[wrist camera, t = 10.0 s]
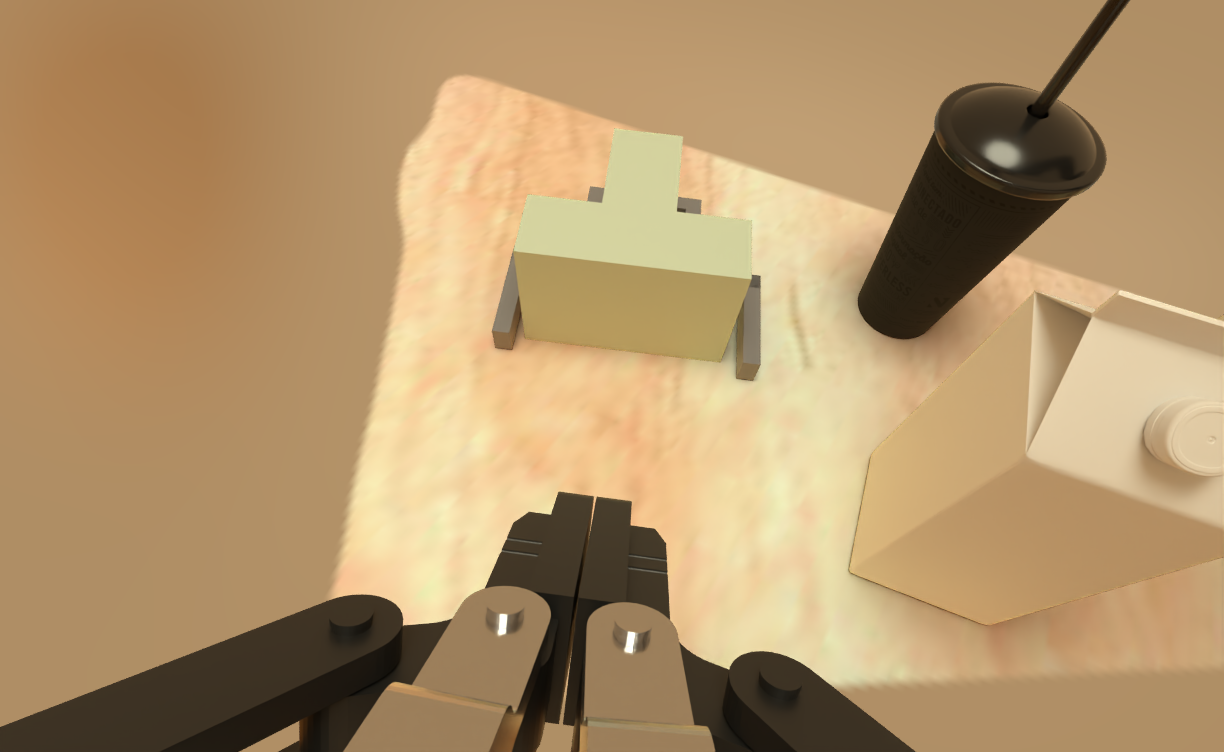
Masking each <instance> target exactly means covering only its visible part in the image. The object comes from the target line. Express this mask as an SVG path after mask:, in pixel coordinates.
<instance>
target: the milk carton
mask: <svg viewBox="0 0 1224 752" xmlns="http://www.w3.org/2000/svg"><path fill="white" fill-rule="evenodd" d="M1222 557H1224V321H1221V320H1218V319H1214V318H1211V317H1208V316H1204V315H1201V314H1198V313H1195V312H1191V311H1188V310H1185V309H1182V308H1178V307H1174V306H1172V305H1168V304H1165V303H1162V302H1158V301H1155V300H1152V299H1148V298H1145V297H1142V296H1139V295H1135V294H1132V293H1129V292H1125V291H1122V290H1120V291H1118V292H1117V293H1115V294H1114V295H1113V296H1112V297H1111V298H1109V299H1108V300H1107V301H1106V302H1105V303H1104V304H1102V305H1101V306H1100V307H1099V308H1098V309H1094V308H1091V307H1088V306H1084V305H1081V304H1078V303H1075V302H1071V301H1068V300H1065V299H1062V298H1058V297H1055V296H1052V295H1049V294H1045V293H1042V292H1039V291H1034V293H1033V294H1032V295H1031V296H1030V297H1029V298H1028V299H1027V300H1026V301H1025V302H1024V303H1023V304H1022V305H1021V306H1020V307H1019V308H1018V309H1017V310H1016V311H1015V312H1014V313H1013V314H1012V315H1011V316H1010V317H1009V318H1008V319H1006V320H1005V321H1004V322H1003V323H1002V324H1001V325H1000V326H999V327H998V328H997V329H996V330H995V331H994V332H993V333H992V334H991V335H990V336H989V337H988V338H987V339H986V340H985V341H984V342H983V343H982V344H981V345H980V346H979V347H978V348H977V349H976V350H975V351H974V352H973V353H972V354H971V355H970V356H969V357H968V358H967V359H966V360H965V361H964V362H963V363H962V364H961V365H960V366H959V367H958V368H957V369H956V370H955V371H954V372H953V373H952V374H951V375H950V376H949V377H948V378H947V379H946V380H945V381H944V382H943V383H942V384H941V385H940V386H939V387H938V388H937V389H936V390H935V391H934V392H933V393H932V394H931V395H930V396H929V397H928V398H927V399H926V400H925V401H924V402H923V403H922V404H921V405H920V406H919V407H918V408H917V409H916V410H915V411H914V412H913V413H912V414H911V415H910V416H909V417H908V418H907V419H906V420H905V421H904V422H903V423H902V424H901V425H900V426H899V427H898V428H897V429H896V430H895V431H894V432H893V433H892V434H891V435H890V436H889V437H888V438H887V439H886V440H885V441H884V442H883V443H882V444H881V445H880V446H879V447H878V448H877V449H876V450H875V451H874V452H873V453H872V454H871V459H870V464H869V469H868V474H867V479H866V485H865V490H864V495H863V500H862V505H861V510H860V516H859V521H858V526H857V531H856V536H855V542H854V547H853V552H852V557H851V562H850V568H849V570H850V572H851V573H853V574H855V575H857V576H860V577H862V578H865V579H867V580H870V581H873V582H875V583H878V584H880V585H883V586H885V587H888V588H891V589H893V590H896V591H898V592H901V593H903V594H906V595H909V596H911V597H914V598H916V599H919V600H921V601H924V602H927V603H929V604H932V605H934V606H937V607H939V608H942V609H945V610H947V611H950V612H952V613H955V614H958V615H960V616H963V617H965V618H968V619H970V620H973V621H976V622H978V623H981V624H984V625H993V624H996V623H999V622H1003V621H1006V620H1010V619H1013V618H1017V617H1020V616H1023V615H1027V614H1030V613H1034V612H1037V611H1041V610H1044V609H1047V608H1051V607H1054V606H1058V605H1061V604H1065V603H1068V602H1071V601H1075V600H1078V599H1082V598H1085V597H1089V596H1092V595H1095V594H1099V593H1102V592H1106V591H1109V590H1113V589H1116V588H1119V587H1123V586H1126V585H1130V584H1133V583H1137V582H1140V581H1143V580H1147V579H1150V578H1154V577H1157V576H1161V575H1164V574H1167V573H1171V572H1174V571H1178V570H1181V569H1185V568H1188V567H1191V566H1195V565H1198V564H1202V563H1205V562H1209V561H1212V560H1215V559H1219V558H1222Z"/></svg>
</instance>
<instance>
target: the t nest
mask: <svg viewBox="0 0 1224 752" xmlns="http://www.w3.org/2000/svg"><path fill="white" fill-rule="evenodd" d="M603 194H604V188H599V187H591V186H590V190H589V195H588V200H587V201H589V202H598V203H602V200H603ZM677 212H683V213H692V214H701V200H697V199H689V198H681V197H678V203H677ZM514 247H515V246H514ZM513 251H514V249H513ZM520 314H521V305H520V297H519V290H518V282H517V275H516V267H515V260H514V252H513V253H512V257H511V261H510V265H509V268H508V272H507V276H506V280H505V284H504V287H503V291H502V295H501V299H500V303H499V306H498V310H497V314H496V318H495V322H494V325H493V329H492V333H493V338H494V343H495V348H502V349H510V350H512V347H513V343H514V339H515V335H516V331H517V326H518V322H519V318H520ZM759 367H760V276H757V275H752V280H751V282H750V285H749V288H748V290H747V293H746V296H745V298H744V301H743V304H742V306H741V309H740V312H739V314H738V325H737V369H736V378H738V379H746V380H753V379H754V377H755V375H756V373H757V371H758V369H759Z"/></svg>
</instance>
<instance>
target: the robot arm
mask: <svg viewBox="0 0 1224 752" xmlns="http://www.w3.org/2000/svg"><path fill="white" fill-rule="evenodd" d="M1218 320H1221V321H1224V315H1223V316H1221V317H1219V318H1218ZM593 500H594V496H587V495H580V494H572V493H565V492H558V495H557V498H556V501H555V504H554V507H553V510H552V513H551V515H548V514H541V513H534V512H528V513H527V514H526V515H524V516H523V517H521V518H520V519H518V520H517V521H515V522H514V523H513V525H512V527H511V530H510V532H509V534H508V537H507V540H506V541H505V543H504V546H503V548H502V552H501V553H500V555H499V557H498V559H497V562H496V564H495V566H494V569H493V571H492V573H491V575H490V578H489V580H488V582H487V585H486V587H485V589H482V590H480V591H477V592H475V593H473V594H472V595H470V596H469V597H468V598H466V599H465V600H464V602H463V603H462V604H461V606H460V607H459V609H458V611H457V612H456V614H455V616H454V617H453V619H450V620H447V621H442V622H437V623H429V624H417V625H404V626H403V616H402V612H401V610H400V609H399V608H398V606H397V605H396V604H394V603H393V602H391V601H389V600H387V599H385V598H382V597H379V596H373V595H349V596H343V597H339V598H335V599H332V600H329V601H326V602H324V603H321V604H319V605H316V606H313V607H311V608H308V609H306V610H303V611H301V612H298V613H295V614H293V615H290V616H287V617H285V618H282V619H280V620H277V621H275V622H272V623H269V624H267V625H264V626H261V627H259V628H256V629H254V630H251V631H248V632H246V633H243V634H241V635H238V636H236V637H233V638H230V639H228V640H225V641H223V642H220V643H218V644H215V645H212V646H210V647H207V648H205V649H202V650H199V651H197V652H194V653H191V654H189V655H186V656H184V657H181V658H178V659H176V660H173V661H171V662H168V663H165V664H163V665H160V666H158V667H155V668H152V669H150V670H147V671H145V672H142V673H140V674H137V675H134V676H132V677H129V678H126V679H124V680H121V681H119V682H116V683H113V684H111V685H108V686H106V687H103V688H101V689H98V690H96V691H93V692H90V693H88V694H85V695H82V696H80V697H77V698H75V699H72V700H70V701H67V702H64V703H62V704H59V705H57V706H54V707H51V708H49V709H46V710H43V711H41V712H38V713H36V714H33V715H30V716H28V717H25V718H23V719H20V720H18V721H15V722H12V723H10V724H7V725H5V726H2V727H0V752H239V751H241V750H243V749H245V748H247V747H249V746H251V745H253V744H255V743H257V742H259V741H261V740H263V739H265V738H266V737H268V736H270V735H272V734H274V733H276V732H278V731H280V730H282V729H284V728H286V727H288V726H290V725H292V724H294V723H296V722H298V721H299V739H300V740H299V741H297V742H296V743H294V744H292V745H290V746H288V747H286V748H284V749H282V750H281V751H279V752H536V750H537V748H538V747H539V745H540V742H541V738H542V734H543V730H544V725H545V722H548V723H555V724H559V720H560V714H561V709H562V703H563V697H564V692H565V686H566V680H567V675H568V669H569V663H570V670H569V679H568V687H567V695H566V704H565V713H564V720H563V724H564V725H571V726H574V732H573V739H572V748H571V752H915V751H914V750H913V749H911V748H910V747H909V746H907V745H906V744H905V743H904V742H902V741H901V740H900V739H899V738H897V737H896V736H895V735H894V734H892V733H891V732H890V731H888V730H887V729H886V728H885V727H883V726H882V725H881V724H879V723H878V722H877V721H876V720H874V719H873V718H872V717H871V716H869V715H868V714H867V713H865V712H864V711H863V710H862V709H860V708H859V707H858V706H857V705H855V704H854V703H852V702H851V701H850V700H849V699H848V698H846V697H845V696H843V695H842V694H841V693H840V692H839V691H837V690H836V689H835V688H834V687H832V686H831V685H830V684H828V683H827V682H826V681H825V680H823V679H822V678H821V677H820V676H818V675H817V674H816V673H814V672H813V671H812V670H811V669H809V668H808V667H806V666H805V665H803V664H802V663H800V662H798V661H796V660H794V659H792V658H789V657H787V656H784V655H781V654H777V653H772V652H764V651H760V652H750V653H746V654H743V655H741V656H739V657H738V658H737V659H735V660H734V661H733V663H732V664H731V666H730V670H728V669H726V668H723V667H721V666H718V665H715V664H713V663H710V662H708V661H705V660H703V659H701V658H699V657H697V656H696V655H694V654H693V653H691V652H690V651H688V650H687V649H686V648H685V647H684V646H682V645H681V643H680V642H679V639H678V634H677V630H676V628H675V626H674V625H673V623H672V622H671V621H670V611H669V592H668V575H667V562H666V561H667V555H666V543H665V542H664V540H663V539H662V538H661V536H660V535H659V534H658V532H657V531H656V530H655V529H653V528H645V527H638V526H630V522H631V505H632V501H625V500H618V499H610V498H603V497H597V498H596V503H595V509H594V514H593V520H592V525H591V518H592V509H593ZM590 526H591V531H590ZM589 534H590V536H589ZM571 652H572V654H571ZM570 658H571V662H570Z"/></svg>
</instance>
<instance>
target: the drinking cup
mask: <svg viewBox="0 0 1224 752" xmlns="http://www.w3.org/2000/svg"><path fill="white" fill-rule="evenodd" d="M1129 1H1130V0H1107V2H1106V3H1105V4H1104V6H1103V7H1102V9H1101V10H1100V12H1099V13H1098V14H1097V16H1096V17H1095V19H1094V20H1093V21H1092V23H1091V24H1090V25H1089V27H1088V29H1087V30H1086V31H1085V33H1084V34H1083V35H1082V37H1081V38H1080V40H1079V41H1078V43H1077V44H1076V45H1075V47H1074V48H1073V49H1072V51H1071V52H1070V54H1069V55H1068V56H1067V58H1066V59H1065V61H1064V62H1063V63H1062V65H1061V66H1060V68H1059V69H1058V70H1057V72H1056V73H1055V75H1054V76H1053V77H1052V79H1051V80H1050V82H1049V83H1048V85H1047V86H1046V87H1045V89H1044V90H1043V91H1042V93H1041V92H1038V91H1036V90H1033V89H1030V88H1026V87H1022V86H1017V85H1013V84H1005V83H978V84H973V85H969V86H965V87H962V88H960V89H958V90H956V91H954V92H953V93H951V94H950V95H949V96H948V97H947V98H946V99H945V100H944V101H943V102H942V104H941V106H940V107H939V109H938V111H937V114H936V116H935V123H934V129H935V131H934V133H933V135H932V137H931V139H930V142H929V144H928V146H927V148H926V150H925V152H924V155H923V157H922V159H921V161H920V163H919V165H918V168H917V170H916V172H915V174H914V176H913V178H912V181H911V183H910V185H909V187H908V190H907V191H906V193H905V196H904V198H903V200H902V202H901V204H900V207H899V209H898V211H897V213H896V215H895V217H894V220H893V222H892V224H891V226H890V228H889V230H888V233H887V235H886V237H885V239H884V241H883V243H882V246H881V248H880V250H879V252H878V254H877V256H876V259H875V261H874V263H873V265H872V267H871V269H870V272H869V274H868V276H867V278H866V280H865V282H864V285H863V287H862V289H861V291H860V293H859V297H858V305H859V309H860V312H861V314H862V316H863V317H864V319H865V320H866V321H867V322H868V323H869V324H870V325H871V326H872V327H873V328H874V329H876V330H877V331H879V332H881V333H883V334H885V335H887V336H890V337H894V338H900V339H909V338H914V337H918V336H920V335H922V334H923V333H925V332H926V331H927V330H928V329H929V328H930V327H931V326H933V325H934V324H935V323H936V322H937V321H938V320H939V319H940V318H941V317H942V316H943V315H944V314H946V313H947V312H948V311H949V310H950V309H951V308H952V307H953V306H954V305H955V304H956V303H957V302H958V301H960V300H961V299H962V298H963V297H964V296H965V295H966V294H967V293H968V292H969V291H970V290H971V289H973V288H974V287H975V286H976V285H977V284H978V283H979V282H980V281H981V280H982V279H983V278H984V277H986V276H987V275H988V274H989V273H990V272H991V271H992V270H993V269H994V268H995V267H996V266H997V265H998V264H1000V263H1001V262H1002V261H1003V260H1004V259H1005V258H1006V257H1007V256H1008V255H1009V254H1010V253H1011V252H1013V250H1015V249H1016V248H1017V247H1018V246H1019V245H1020V244H1021V243H1022V242H1023V241H1024V240H1026V239H1027V238H1028V237H1029V236H1030V235H1031V234H1032V233H1033V232H1034V231H1035V230H1036V229H1037V228H1038V227H1040V226H1041V225H1042V224H1043V223H1044V222H1045V221H1046V220H1047V219H1048V218H1049V217H1050V216H1051V215H1053V214H1054V213H1055V212H1056V211H1057V210H1058V209H1059V208H1060V207H1061V206H1062V205H1063V204H1064V203H1065V202H1066V201H1068V200H1069V199H1070V198H1071V197H1073V196H1076V195H1078V194H1080V193H1082V192H1084V191H1086V190H1087V189H1089V188H1090V187H1091V186H1092V185H1093V184H1094V183H1095V182H1096V181H1097V180H1098V179H1099V177H1100V176H1101V175H1102V173H1103V171H1104V169H1105V165H1106V151H1105V147H1104V144H1103V142H1102V140H1101V138H1100V136H1099V135H1098V133H1097V132H1096V130H1095V129H1094V128H1093V127H1092V126H1091V124H1090V123H1089V122H1088V121H1087V120H1086V119H1085V118H1083V117H1082V116H1081V115H1080V114H1079V113H1077V112H1076V111H1075V110H1073V109H1072V108H1071V107H1069V106H1067V105H1066V104H1064V103H1062V102H1061V101H1059V100H1057V98H1058V97H1059V95H1060V94H1061V93H1062V91H1063V90H1064V89H1065V87H1066V86H1067V85H1068V83H1069V82H1070V81H1071V79H1072V78H1073V77H1074V75H1075V74H1076V73H1077V71H1078V70H1079V69H1080V67H1081V66H1082V65H1083V63H1084V62H1085V60H1086V59H1087V58H1088V56H1089V55H1090V54H1091V52H1092V51H1093V50H1094V48H1095V47H1096V46H1097V44H1098V43H1099V42H1100V40H1101V39H1102V38H1103V36H1104V35H1105V34H1106V32H1107V31H1108V30H1109V28H1110V27H1111V25H1112V24H1113V23H1114V21H1115V20H1116V19H1117V17H1118V16H1119V15H1120V13H1121V12H1122V11H1123V9H1124V8H1125V7H1126V5H1127V4H1128V3H1129Z"/></svg>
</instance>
